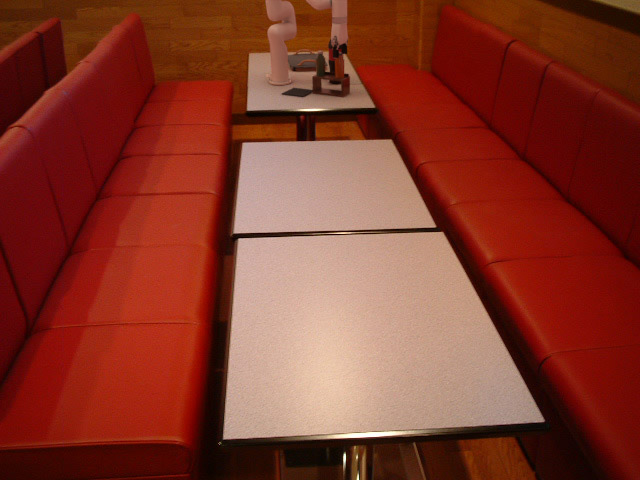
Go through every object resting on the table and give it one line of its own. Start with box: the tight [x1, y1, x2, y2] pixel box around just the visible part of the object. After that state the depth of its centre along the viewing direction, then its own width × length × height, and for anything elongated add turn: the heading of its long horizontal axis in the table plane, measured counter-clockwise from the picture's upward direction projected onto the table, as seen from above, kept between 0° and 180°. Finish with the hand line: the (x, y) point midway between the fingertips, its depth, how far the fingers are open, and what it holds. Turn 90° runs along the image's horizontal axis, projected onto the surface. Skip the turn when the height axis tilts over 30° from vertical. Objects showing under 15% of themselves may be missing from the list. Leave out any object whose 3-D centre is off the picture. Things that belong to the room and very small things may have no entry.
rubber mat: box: [281, 87, 313, 98], centre depth 337 cm, size 13×13×1 cm
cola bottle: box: [327, 38, 344, 85], centre depth 347 cm, size 8×8×30 cm
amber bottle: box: [335, 52, 345, 78], centre depth 326 cm, size 5×5×12 cm
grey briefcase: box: [288, 48, 329, 72], centre depth 394 cm, size 39×23×6 cm, turn 7°
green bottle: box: [315, 50, 326, 76], centre depth 330 cm, size 5×5×12 cm
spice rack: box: [311, 70, 351, 98], centre depth 333 cm, size 18×8×10 cm, turn 62°
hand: (340, 55), depth 323 cm, fingers open, 9 cm apart
